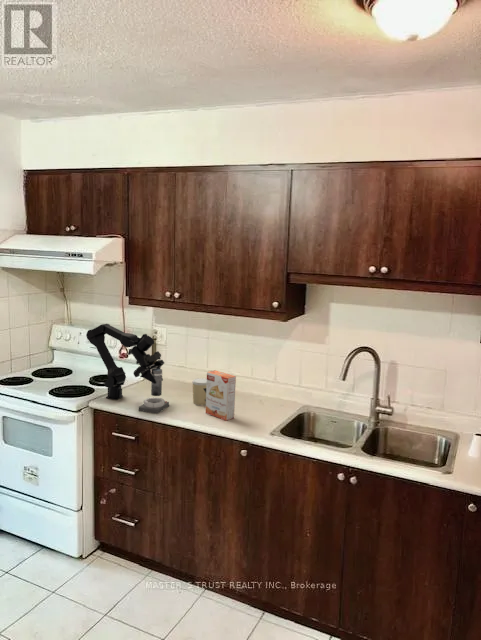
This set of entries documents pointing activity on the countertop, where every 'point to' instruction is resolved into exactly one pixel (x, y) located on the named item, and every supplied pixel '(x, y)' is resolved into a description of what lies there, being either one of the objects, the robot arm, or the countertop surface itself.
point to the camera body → (153, 405)
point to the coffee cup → (199, 391)
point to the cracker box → (220, 394)
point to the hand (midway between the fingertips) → (158, 382)
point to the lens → (157, 382)
